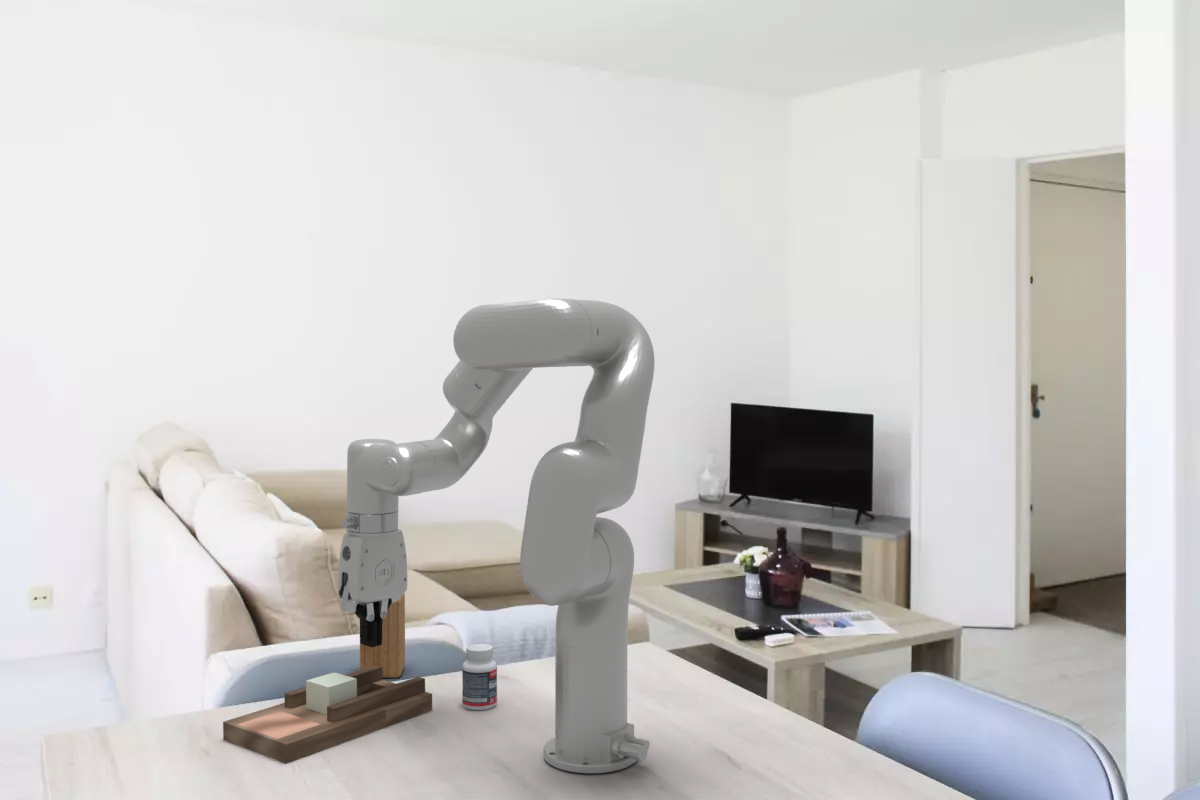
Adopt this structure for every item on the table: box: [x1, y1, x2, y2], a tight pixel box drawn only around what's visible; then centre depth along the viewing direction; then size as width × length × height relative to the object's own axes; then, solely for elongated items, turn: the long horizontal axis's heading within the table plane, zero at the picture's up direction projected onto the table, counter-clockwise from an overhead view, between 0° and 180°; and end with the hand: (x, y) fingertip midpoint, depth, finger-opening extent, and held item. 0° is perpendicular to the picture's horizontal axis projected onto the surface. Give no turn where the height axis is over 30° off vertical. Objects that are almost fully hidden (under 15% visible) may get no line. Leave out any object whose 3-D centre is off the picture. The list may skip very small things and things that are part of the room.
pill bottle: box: [461, 643, 498, 711], centre depth 162 cm, size 5×5×9 cm
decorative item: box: [359, 593, 406, 679], centre depth 178 cm, size 7×7×20 cm
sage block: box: [305, 671, 357, 715], centre depth 154 cm, size 5×5×4 cm
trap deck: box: [222, 666, 433, 764], centre depth 154 cm, size 14×26×4 cm, turn 143°
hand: (370, 644), depth 160 cm, fingers closed
